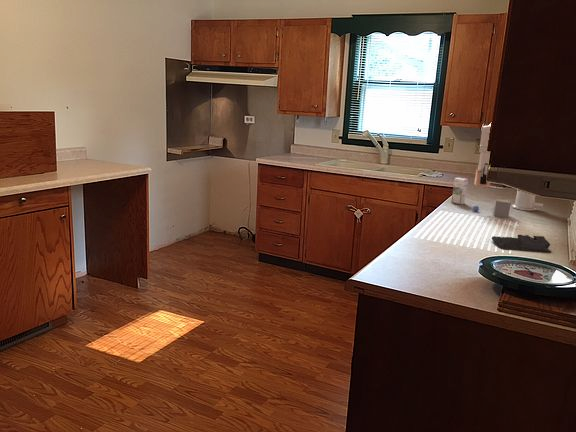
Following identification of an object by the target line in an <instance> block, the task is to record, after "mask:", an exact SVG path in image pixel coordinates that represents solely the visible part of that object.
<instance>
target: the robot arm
mask: <svg viewBox="0 0 576 432" xmlns="http://www.w3.org/2000/svg"><path fill="white" fill-rule="evenodd" d="M490 127H491V123H490V124H489V125H484V126H482V129H481V134H480V135H481V136H480V143H479V150H478V152H479V153H480V154H479V158H478V159H479V160H478V166H477V169H478V170H479V171H481V170H482V176H481V179H480V184H486V183H487V182H486V173H487V169H488V163H489V152H488V151H487V146H488V140H489V133H490ZM483 170H484V171H483ZM535 199H536V195H532V194H528V193H525V192H522V191H518V189H517V192H516V196H515V202H514V203H513V204H511V208H513V209H517V210H520V211H529V212H530V211H531V212H532V211H536V210H537V207H538V208H544V204H543V203H539V202H536V201H535Z"/></svg>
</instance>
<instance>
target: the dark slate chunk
mask: <svg viewBox="0 0 576 432" xmlns="http://www.w3.org/2000/svg"><path fill="white" fill-rule="evenodd" d="M491 240H492V241H493V243H495V245H496V246H497V247H498V248H499V249H501V250H504V251H514V252H515V251H516V252H526V253H527V252H530V253H542V254H543V253H544V254H551V253H552V251H551V250H549V247H551V243H550V241H549V240H547V239H546V238H545V236H543V235H533V237H532V236H530V235H528V234H526V235H523V234H520V233H519V234H517V235H516V237H512V236H495V235H494V236H491Z"/></svg>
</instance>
